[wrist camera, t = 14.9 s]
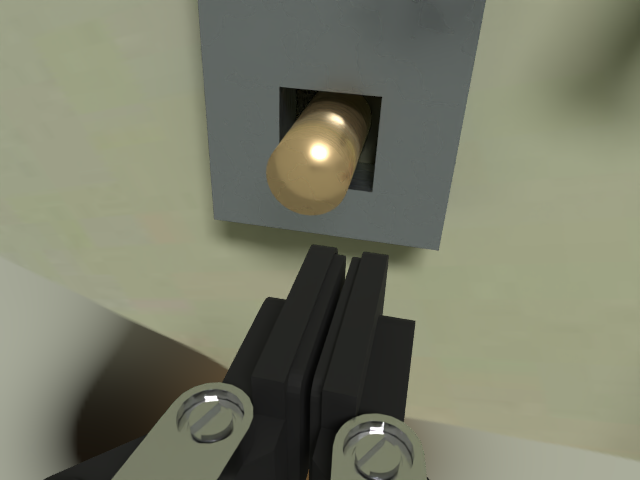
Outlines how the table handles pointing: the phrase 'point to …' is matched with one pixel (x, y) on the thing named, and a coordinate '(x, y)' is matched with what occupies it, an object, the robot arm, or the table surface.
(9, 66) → the table surface
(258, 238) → the table surface
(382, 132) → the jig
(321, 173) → the tan cylinder
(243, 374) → the robot arm
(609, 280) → the table surface
